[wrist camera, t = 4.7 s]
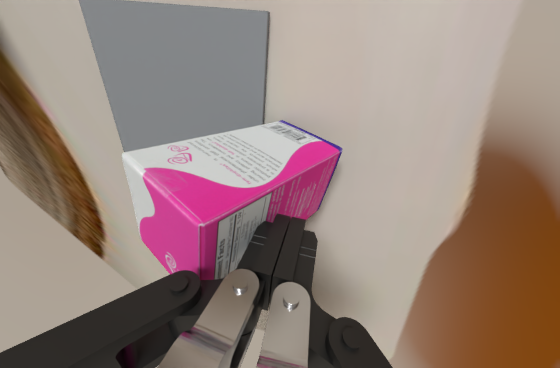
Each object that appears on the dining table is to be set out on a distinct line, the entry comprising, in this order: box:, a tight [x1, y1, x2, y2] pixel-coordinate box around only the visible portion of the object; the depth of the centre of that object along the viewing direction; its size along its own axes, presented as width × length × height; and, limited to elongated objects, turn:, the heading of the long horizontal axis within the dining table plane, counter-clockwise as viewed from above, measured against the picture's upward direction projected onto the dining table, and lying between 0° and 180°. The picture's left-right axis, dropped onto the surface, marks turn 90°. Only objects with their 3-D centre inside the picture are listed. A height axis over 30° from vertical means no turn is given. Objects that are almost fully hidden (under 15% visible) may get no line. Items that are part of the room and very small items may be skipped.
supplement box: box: [122, 120, 343, 280], centre depth 14 cm, size 6×6×11 cm
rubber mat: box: [79, 0, 270, 152], centre depth 20 cm, size 15×20×1 cm
